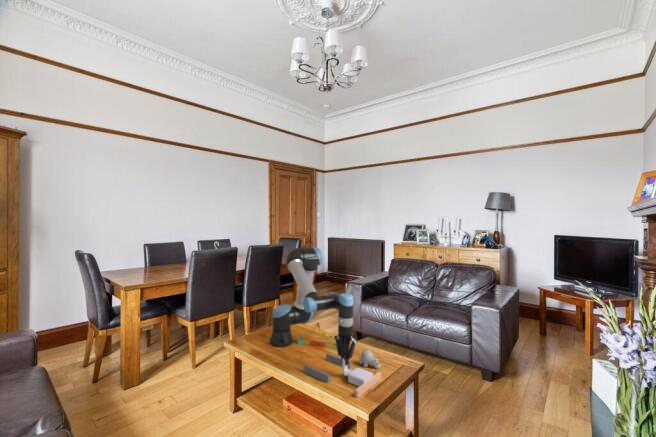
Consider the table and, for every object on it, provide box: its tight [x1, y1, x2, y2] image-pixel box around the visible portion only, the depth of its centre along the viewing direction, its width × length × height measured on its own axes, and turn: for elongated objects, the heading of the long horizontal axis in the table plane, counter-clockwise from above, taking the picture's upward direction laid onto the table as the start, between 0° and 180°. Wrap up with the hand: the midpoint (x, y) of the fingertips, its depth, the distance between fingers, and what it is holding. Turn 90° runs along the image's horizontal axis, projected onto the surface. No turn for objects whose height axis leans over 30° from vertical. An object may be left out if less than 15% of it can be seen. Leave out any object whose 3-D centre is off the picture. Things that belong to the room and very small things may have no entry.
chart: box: [297, 322, 337, 350], centre depth 196 cm, size 30×3×15 cm, turn 77°
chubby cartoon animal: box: [358, 349, 382, 370], centre depth 169 cm, size 7×12×8 cm, turn 56°
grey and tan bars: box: [303, 352, 382, 398], centre depth 159 cm, size 34×22×4 cm, turn 51°
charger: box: [343, 367, 374, 387], centre depth 154 cm, size 5×9×15 cm
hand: (344, 370), depth 157 cm, fingers closed
